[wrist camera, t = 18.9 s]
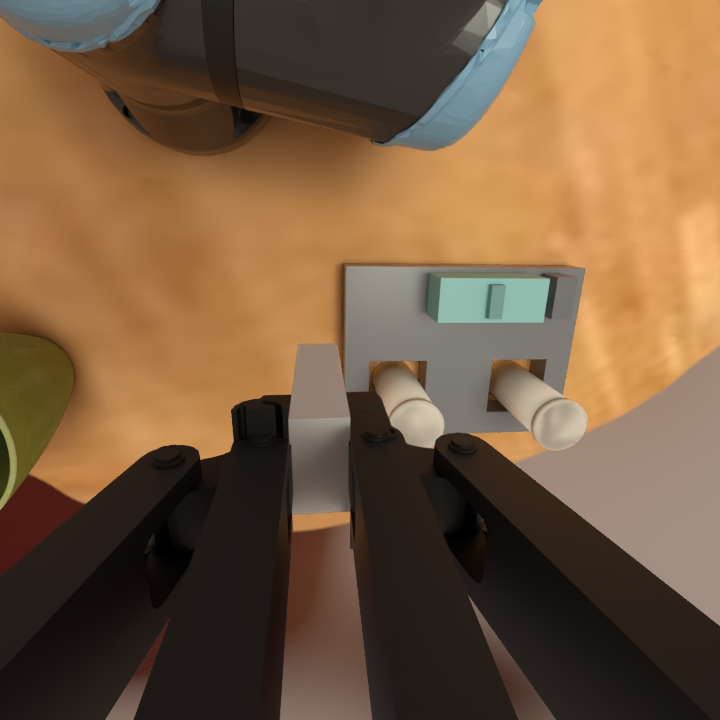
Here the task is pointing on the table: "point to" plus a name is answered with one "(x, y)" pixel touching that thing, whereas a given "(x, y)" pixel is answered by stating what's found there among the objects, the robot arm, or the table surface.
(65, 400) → the flower pot
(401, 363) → the white cylinder
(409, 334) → the housing
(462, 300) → the lid
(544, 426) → the cream peg
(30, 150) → the table surface
